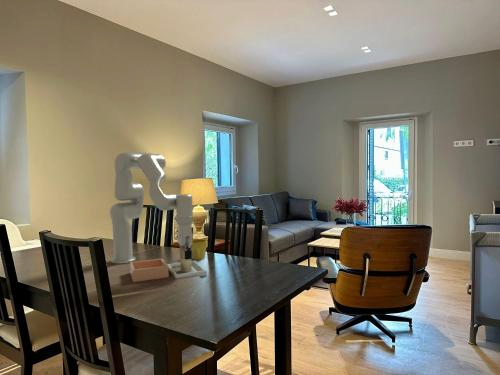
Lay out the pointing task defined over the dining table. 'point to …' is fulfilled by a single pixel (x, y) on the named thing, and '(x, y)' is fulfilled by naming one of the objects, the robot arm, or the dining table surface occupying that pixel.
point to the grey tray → (195, 267)
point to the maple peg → (184, 260)
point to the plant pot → (198, 248)
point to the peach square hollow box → (148, 270)
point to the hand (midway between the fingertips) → (185, 256)
